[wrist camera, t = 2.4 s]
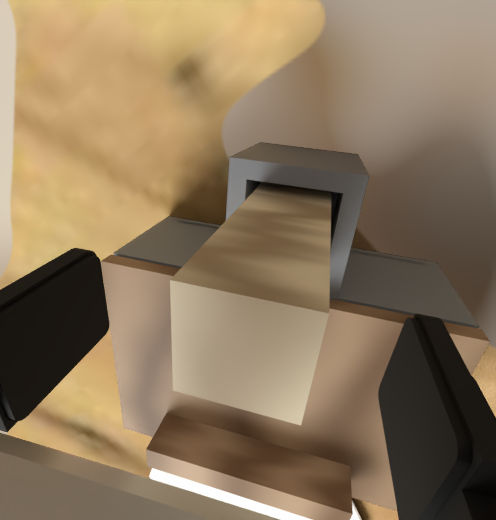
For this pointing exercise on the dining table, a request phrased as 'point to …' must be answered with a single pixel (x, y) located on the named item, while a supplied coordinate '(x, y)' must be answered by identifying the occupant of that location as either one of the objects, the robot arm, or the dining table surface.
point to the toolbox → (342, 232)
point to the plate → (232, 497)
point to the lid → (256, 425)
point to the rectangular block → (256, 304)
